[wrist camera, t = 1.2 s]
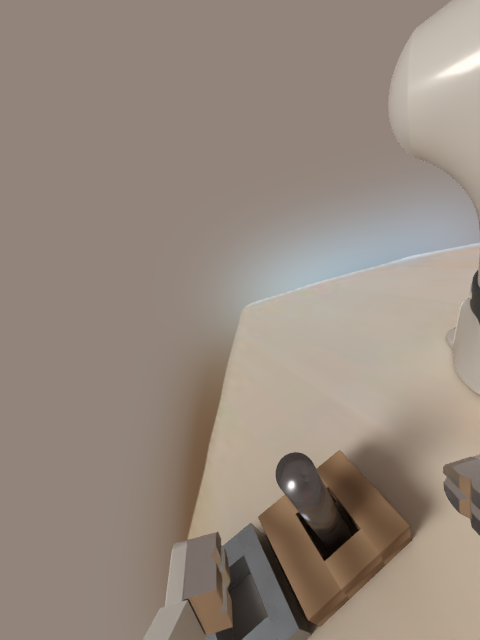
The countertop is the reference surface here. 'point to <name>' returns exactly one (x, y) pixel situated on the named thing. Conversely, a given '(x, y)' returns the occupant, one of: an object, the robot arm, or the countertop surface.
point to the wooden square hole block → (352, 557)
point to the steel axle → (312, 499)
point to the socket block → (263, 589)
